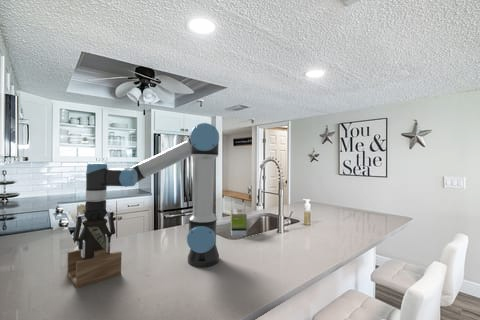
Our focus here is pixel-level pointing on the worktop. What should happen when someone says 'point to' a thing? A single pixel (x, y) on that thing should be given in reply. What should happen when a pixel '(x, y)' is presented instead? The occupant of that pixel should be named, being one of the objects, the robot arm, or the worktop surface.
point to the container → (94, 236)
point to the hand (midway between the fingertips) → (94, 254)
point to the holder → (93, 266)
